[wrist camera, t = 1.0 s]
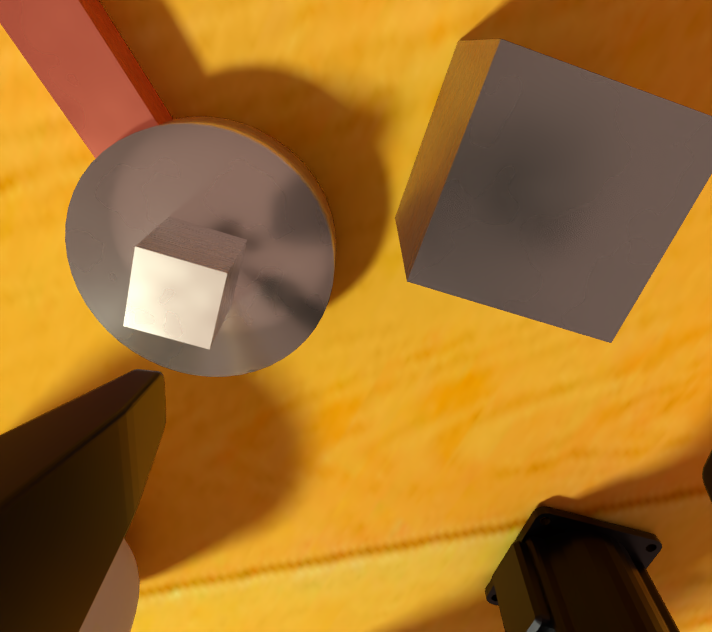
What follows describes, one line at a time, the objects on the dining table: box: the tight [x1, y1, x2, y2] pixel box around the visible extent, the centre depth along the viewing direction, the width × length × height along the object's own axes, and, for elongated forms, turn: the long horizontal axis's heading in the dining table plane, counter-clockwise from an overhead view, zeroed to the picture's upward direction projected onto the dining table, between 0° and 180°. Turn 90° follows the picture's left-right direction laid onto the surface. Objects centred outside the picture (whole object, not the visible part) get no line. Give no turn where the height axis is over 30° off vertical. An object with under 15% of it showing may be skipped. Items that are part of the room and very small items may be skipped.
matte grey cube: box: [395, 39, 712, 343], centre depth 16 cm, size 6×6×6 cm
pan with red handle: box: [0, 0, 337, 377], centre depth 17 cm, size 18×9×5 cm, turn 28°
